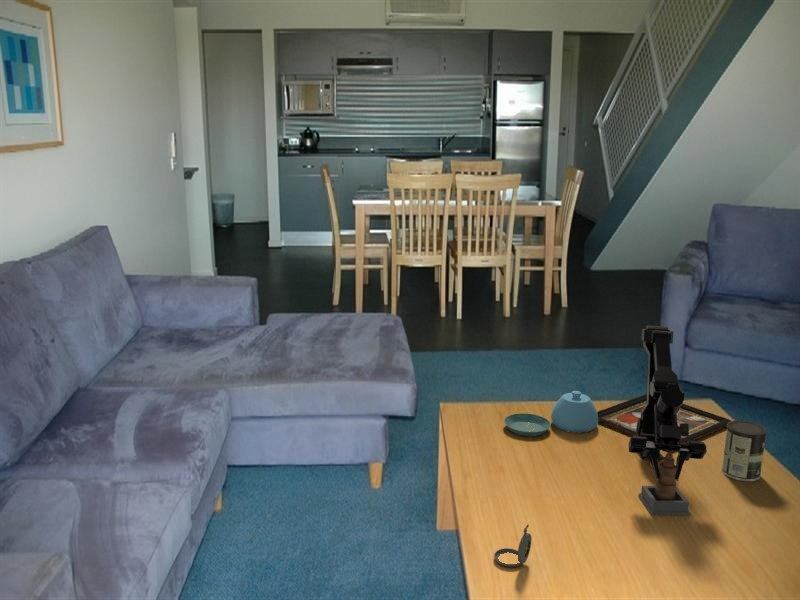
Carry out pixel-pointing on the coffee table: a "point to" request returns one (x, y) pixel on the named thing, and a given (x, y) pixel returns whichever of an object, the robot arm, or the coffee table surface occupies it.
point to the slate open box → (664, 503)
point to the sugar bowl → (575, 413)
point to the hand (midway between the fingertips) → (667, 479)
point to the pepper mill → (666, 480)
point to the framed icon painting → (698, 420)
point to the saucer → (521, 420)
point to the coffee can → (744, 450)
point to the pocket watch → (522, 550)
